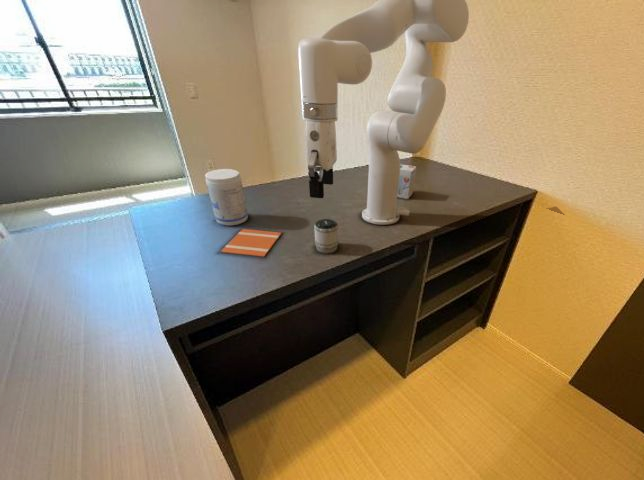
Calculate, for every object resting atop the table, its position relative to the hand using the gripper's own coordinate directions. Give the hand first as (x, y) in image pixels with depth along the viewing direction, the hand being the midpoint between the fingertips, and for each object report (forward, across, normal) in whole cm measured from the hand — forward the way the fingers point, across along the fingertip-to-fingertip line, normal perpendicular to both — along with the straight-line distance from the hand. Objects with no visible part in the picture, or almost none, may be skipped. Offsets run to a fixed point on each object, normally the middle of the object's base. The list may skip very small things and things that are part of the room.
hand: (322, 190), depth 73 cm
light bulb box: (+16, +45, -18) cm, 52 cm away
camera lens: (+17, 0, -1) cm, 17 cm away
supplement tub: (+17, +11, +32) cm, 38 cm away
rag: (+17, -1, +20) cm, 26 cm away
